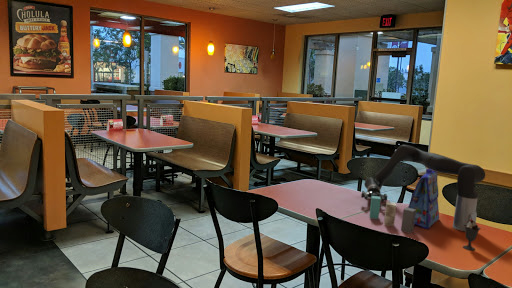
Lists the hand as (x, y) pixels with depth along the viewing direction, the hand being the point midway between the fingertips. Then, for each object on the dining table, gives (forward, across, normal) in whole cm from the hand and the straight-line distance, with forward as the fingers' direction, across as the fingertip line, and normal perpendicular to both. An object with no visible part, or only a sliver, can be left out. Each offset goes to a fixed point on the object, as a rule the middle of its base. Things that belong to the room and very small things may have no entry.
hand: (374, 199), depth 228 cm
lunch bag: (+7, +25, +7) cm, 26 cm away
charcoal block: (+26, +16, +7) cm, 31 cm away
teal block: (+11, 0, +7) cm, 13 cm away
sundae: (+38, +41, +7) cm, 56 cm away
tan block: (+20, +7, +7) cm, 22 cm away
